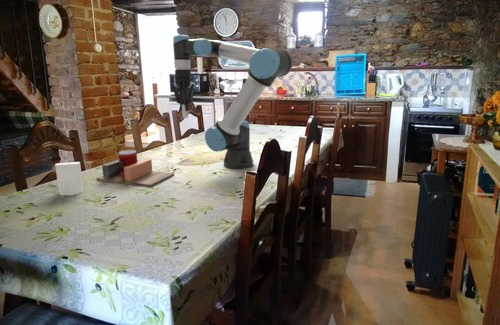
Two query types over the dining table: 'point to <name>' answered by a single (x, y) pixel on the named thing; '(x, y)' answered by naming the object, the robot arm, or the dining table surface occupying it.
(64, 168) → the white upright block
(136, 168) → the block
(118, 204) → the dining table surface
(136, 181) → the vise base
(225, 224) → the dining table surface
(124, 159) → the canned food
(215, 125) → the robot arm
